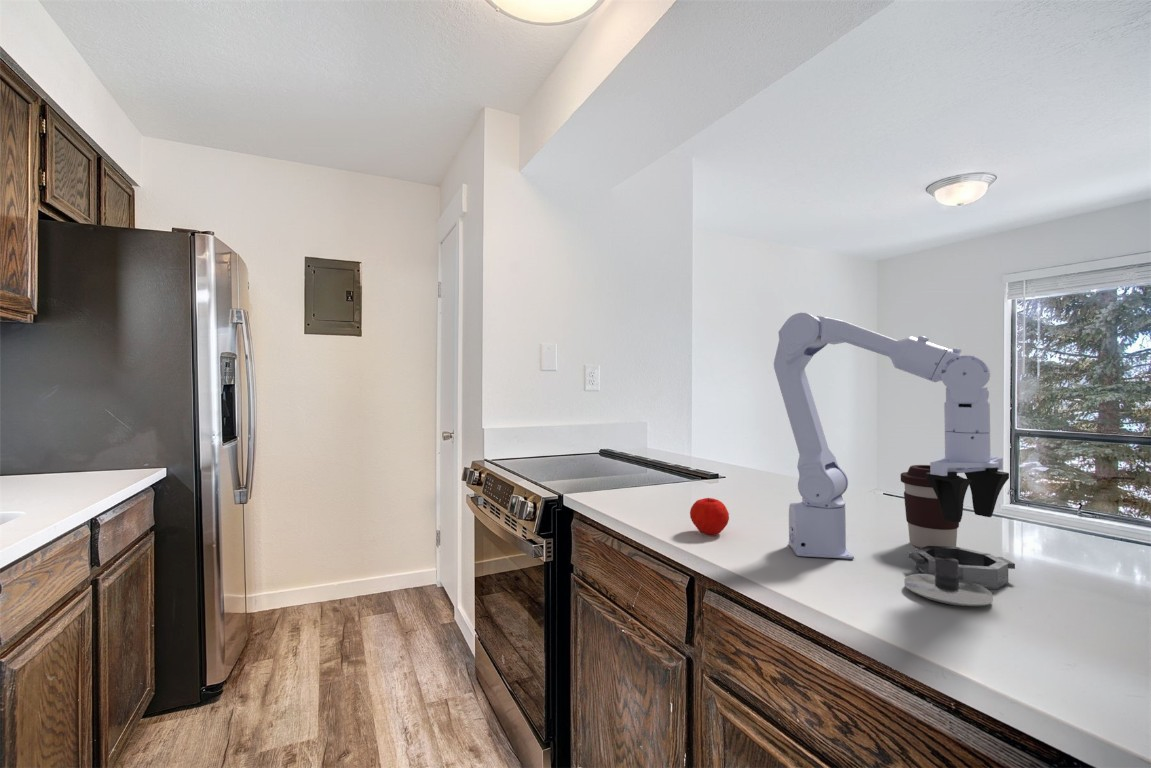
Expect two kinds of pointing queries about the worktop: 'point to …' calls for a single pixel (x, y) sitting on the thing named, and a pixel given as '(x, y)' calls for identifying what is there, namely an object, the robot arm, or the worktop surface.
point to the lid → (948, 585)
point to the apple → (709, 516)
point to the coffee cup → (925, 511)
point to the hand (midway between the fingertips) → (968, 518)
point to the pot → (966, 565)
